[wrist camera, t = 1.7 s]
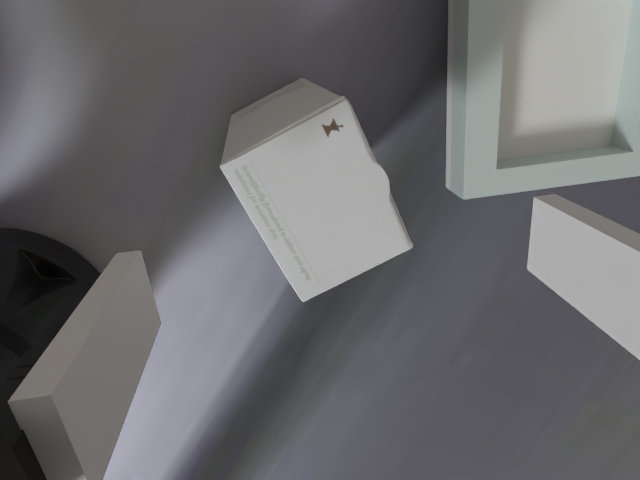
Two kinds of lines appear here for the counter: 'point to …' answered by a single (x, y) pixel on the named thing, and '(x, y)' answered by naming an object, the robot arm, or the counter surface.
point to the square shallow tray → (541, 94)
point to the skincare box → (312, 187)
